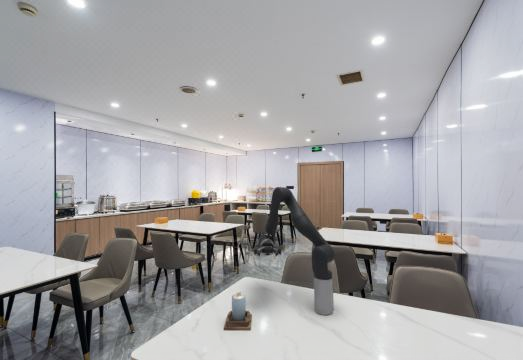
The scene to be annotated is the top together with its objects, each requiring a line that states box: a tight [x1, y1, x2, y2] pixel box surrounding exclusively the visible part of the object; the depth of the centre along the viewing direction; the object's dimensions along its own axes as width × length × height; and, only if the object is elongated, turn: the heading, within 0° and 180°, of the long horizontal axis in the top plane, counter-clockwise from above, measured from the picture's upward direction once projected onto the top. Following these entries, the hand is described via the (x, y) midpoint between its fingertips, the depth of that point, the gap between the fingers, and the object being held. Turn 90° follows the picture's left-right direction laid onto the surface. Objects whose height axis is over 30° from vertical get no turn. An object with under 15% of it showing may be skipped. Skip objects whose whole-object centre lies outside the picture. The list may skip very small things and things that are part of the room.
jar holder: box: [223, 310, 253, 331], centre depth 115 cm, size 12×12×3 cm
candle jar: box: [231, 291, 247, 321], centre depth 115 cm, size 6×6×13 cm
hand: (267, 254), depth 123 cm, fingers open, 8 cm apart
